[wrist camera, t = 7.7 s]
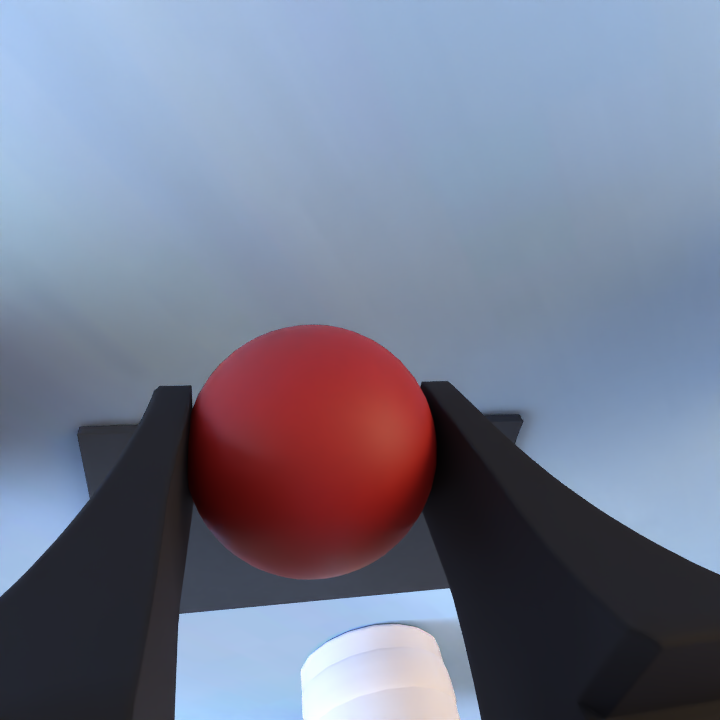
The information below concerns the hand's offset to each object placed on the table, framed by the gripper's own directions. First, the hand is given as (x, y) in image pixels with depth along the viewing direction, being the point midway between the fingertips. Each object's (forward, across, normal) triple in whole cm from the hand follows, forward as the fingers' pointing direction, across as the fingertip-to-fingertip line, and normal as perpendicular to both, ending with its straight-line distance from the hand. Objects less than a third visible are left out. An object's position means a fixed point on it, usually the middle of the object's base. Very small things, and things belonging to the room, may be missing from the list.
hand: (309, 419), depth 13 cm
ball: (+2, 0, 0) cm, 2 cm away
